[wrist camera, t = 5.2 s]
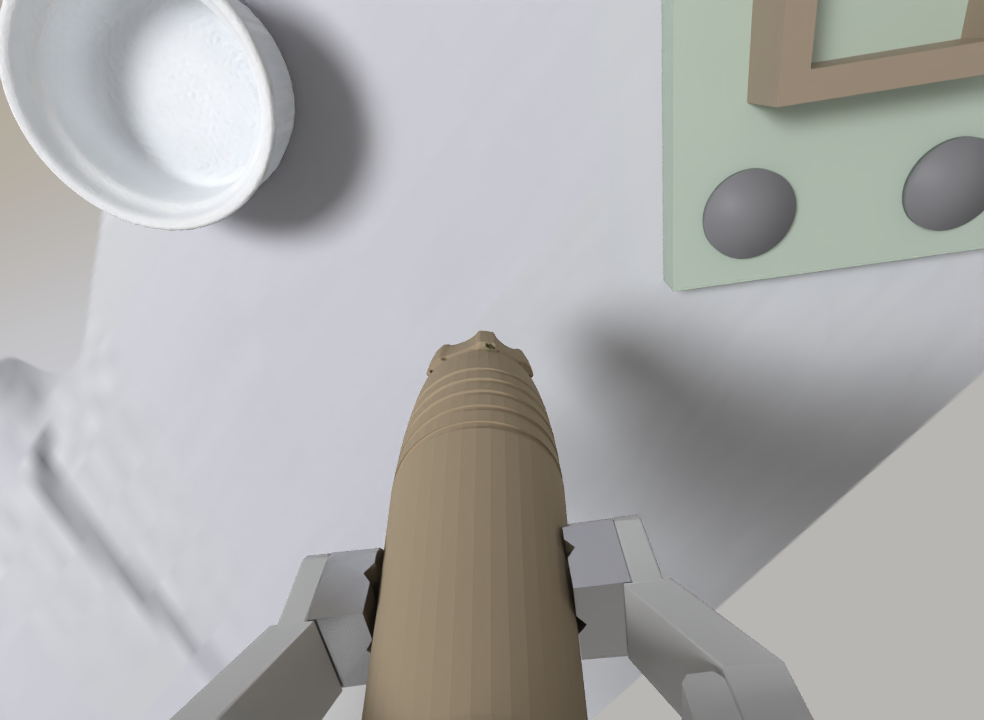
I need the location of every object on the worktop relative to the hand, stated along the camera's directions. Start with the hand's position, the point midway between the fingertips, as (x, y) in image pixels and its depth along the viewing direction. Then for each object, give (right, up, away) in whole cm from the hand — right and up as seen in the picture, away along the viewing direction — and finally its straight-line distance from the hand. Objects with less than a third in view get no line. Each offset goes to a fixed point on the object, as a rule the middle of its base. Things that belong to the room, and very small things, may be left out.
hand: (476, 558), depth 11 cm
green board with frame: (+14, +16, +10) cm, 24 cm away
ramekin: (-11, +15, +11) cm, 22 cm away
